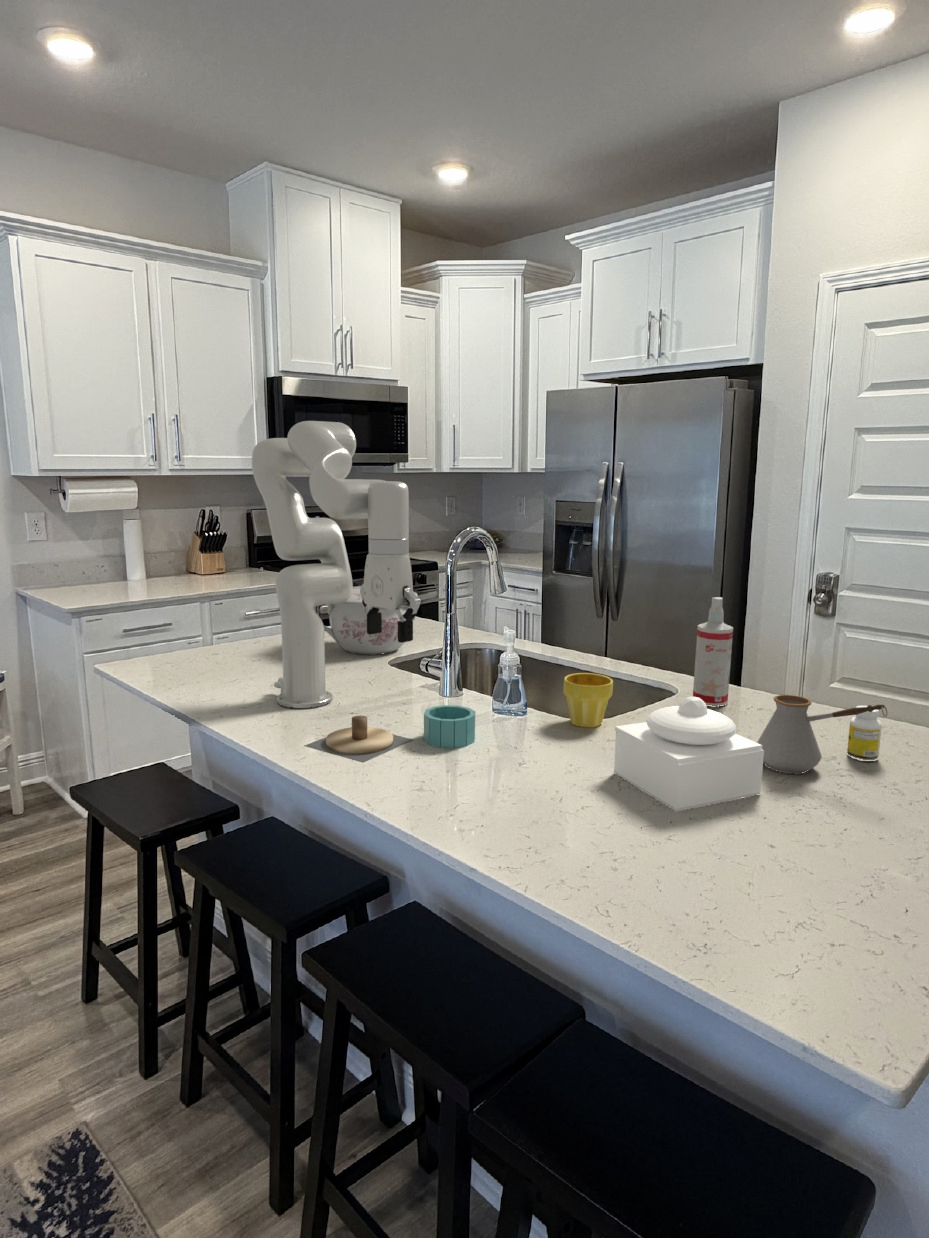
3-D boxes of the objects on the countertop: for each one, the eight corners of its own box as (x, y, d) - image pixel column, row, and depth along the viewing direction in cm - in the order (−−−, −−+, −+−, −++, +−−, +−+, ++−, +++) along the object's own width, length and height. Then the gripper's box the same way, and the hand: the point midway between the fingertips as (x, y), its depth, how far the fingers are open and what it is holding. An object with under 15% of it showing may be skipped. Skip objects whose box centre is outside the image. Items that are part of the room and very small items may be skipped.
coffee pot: (743, 767, 146) (750, 688, 143) (766, 751, 155) (773, 676, 152) (869, 799, 132) (879, 713, 129) (886, 779, 141) (896, 698, 138)
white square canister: (676, 813, 127) (682, 717, 124) (612, 773, 143) (616, 688, 140) (760, 796, 134) (768, 705, 131) (690, 760, 150) (696, 678, 147)
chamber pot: (433, 645, 242) (434, 578, 238) (389, 665, 218) (388, 590, 214) (355, 636, 253) (354, 572, 249) (304, 654, 229) (302, 583, 225)
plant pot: (610, 732, 164) (612, 686, 162) (560, 728, 166) (562, 683, 164) (611, 717, 174) (613, 674, 172) (564, 713, 176) (565, 671, 174)
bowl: (414, 743, 156) (414, 714, 155) (443, 730, 164) (443, 702, 163) (455, 754, 151) (456, 724, 150) (484, 739, 159) (484, 711, 158)
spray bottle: (714, 696, 191) (721, 594, 186) (733, 705, 184) (742, 599, 179) (686, 699, 188) (693, 595, 184) (705, 708, 181) (712, 600, 177)
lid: (311, 744, 153) (311, 720, 152) (356, 727, 164) (356, 704, 163) (363, 759, 146) (362, 733, 145) (406, 740, 156) (406, 715, 156)
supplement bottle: (852, 750, 155) (857, 702, 153) (882, 757, 152) (888, 708, 150) (842, 757, 152) (847, 708, 150) (872, 765, 148) (877, 714, 146)
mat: (304, 748, 153) (304, 745, 153) (356, 727, 165) (356, 725, 165) (363, 765, 145) (363, 762, 144) (413, 742, 157) (413, 739, 157)
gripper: (345, 545, 152) (347, 633, 155) (401, 553, 140) (402, 647, 143) (377, 543, 157) (378, 628, 160) (433, 550, 145) (433, 642, 148)
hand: (389, 637), depth 152 cm, fingers open, 9 cm apart
